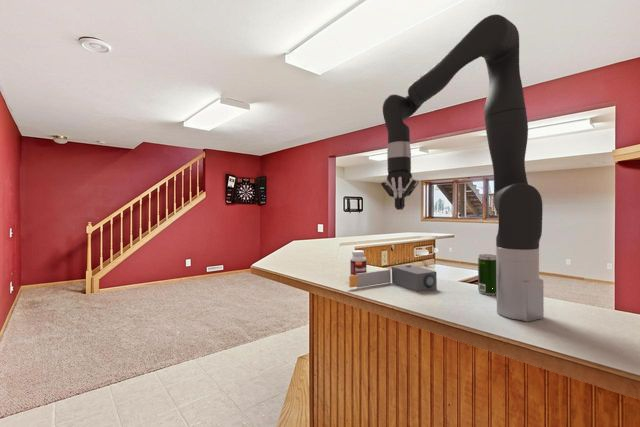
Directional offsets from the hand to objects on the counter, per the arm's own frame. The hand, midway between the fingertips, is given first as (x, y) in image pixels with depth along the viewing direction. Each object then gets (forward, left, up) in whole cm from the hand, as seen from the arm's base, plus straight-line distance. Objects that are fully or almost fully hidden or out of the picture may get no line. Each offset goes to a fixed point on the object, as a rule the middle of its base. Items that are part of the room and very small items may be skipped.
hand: (399, 209), depth 105 cm
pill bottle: (+20, +5, -27) cm, 34 cm away
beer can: (-15, -22, -27) cm, 38 cm away
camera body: (+2, -7, -27) cm, 28 cm away
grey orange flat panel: (+9, +6, -27) cm, 29 cm away
